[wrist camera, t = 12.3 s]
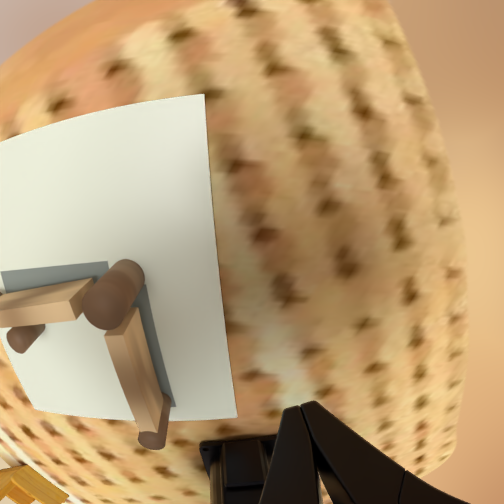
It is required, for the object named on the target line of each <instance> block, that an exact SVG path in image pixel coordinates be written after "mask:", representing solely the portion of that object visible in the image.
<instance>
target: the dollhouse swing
mask: <svg viewBox="0 0 504 504" xmlns="http://www.w3.org/2000/svg"><path fill="white" fill-rule="evenodd" d="M5 496H7V497H8V498H10V499H11V500H12V501H14V502H15V503H17V504H30V503H32V502H33V501H34V500H38V501H39V502H41V503H42V504H61V503H64V502H65V500H66V499H67V498H68V497H69V495H67V494H66V493H65V492H63V491H62V490H60V489H59V488H57V487H56V486H55V485H53V484H52V483H50V482H49V481H48V480H46V479H45V478H44V477H42V476H41V475H40V474H39V473H37V472H36V471H35V470H33V469H32V468H31V467H30V466H28V465H22V466H17V467H12V468H7V469H2V470H0V501H1V500H2V499H3V498H4V497H5Z"/></svg>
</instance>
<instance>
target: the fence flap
mask: <svg viewBox="0 0 504 504" xmlns="http://www.w3.org/2000/svg"><path fill="white" fill-rule="evenodd" d="M93 285H94V282H93V279H92V278H88V279H83V280H77V281H72V282H67V283H61V284H56V285H50V286H45V287H39V288H34V289H29V290H23V291H18V292H13V293H7V294H2V293H1V292H0V328H8V327H18V326H29V325H38V324H48V323H57V322H65V321H74V320H77V319H78V317H79V316H80V315H81V314H82V313H83V310H82V299H83V296H84V295H85V293H86V292H87V291H88V290H89V289H90V288H91V287H92V286H93Z"/></svg>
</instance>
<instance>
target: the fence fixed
mask: <svg viewBox="0 0 504 504" xmlns="http://www.w3.org/2000/svg"><path fill="white" fill-rule="evenodd" d="M144 282H145V275H144V272H143V270H142V268H141V267H140V265H139V264H137V263H136V262H134V261H132V260H129V259H122V260H119V261H117V262H116V263H115V264H114V265H113V266H112V267H111V268H110V269H109V270H108V271H107V272H106V273H105V274H104V275H103V276H102V277H101V278H100V279H99V280H98V281H97V282H96V283H95V284H94V285H93V286H92V287H91V288H90V289H89V290H88V291H87V292H86V293H85V295H84V296H83V299H82V310H83V313H84V315H85V317H86V319H87V320H88V321H89V322H90V323H91V324H92V325H93V326H95V327H96V328H99V329H101V330H107V331H106V333H105V335H104V338H105V341H106V344H107V348H108V351H109V354H110V357H111V360H112V362H113V365H114V368H115V371H116V374H117V376H118V379H119V382H120V384H121V387H122V390H123V392H124V395H125V397H126V400H127V402H128V405H129V407H130V409H131V412H132V414H133V416H134V419H135V421H136V423H137V425H138V428H139V430H140V432H139V437H138V441H139V443H140V444H141V445H142V446H144V447H145V448H148V449H151V450H160V449H162V448H164V447H165V442H166V435H167V428H168V422H169V415H170V408H171V402H172V401H171V398H170V397H169V396H168V395H167V394H165V393H163V392H161V390H160V387H159V384H158V381H157V377H156V374H155V370H154V367H153V364H152V360H151V356H150V353H149V349H148V345H147V342H146V338H145V334H144V330H143V326H142V321H141V317H140V313H139V309H138V307H131V306H132V304H133V302H134V300H135V299H136V297H137V295H138V294H139V292H140V290H141V289H142V287H143V285H144ZM45 327H46V326H45V324H38V325H29V326H18V327H12V328H11V329H10V330H9V331H8V332H7V334H6V338H7V341H8V344H9V345H10V347H11V348H12V349H13V350H14V351H15V352H17V353H20V354H23V353H25V352H26V351H27V349H28V348H29V347H30V346H31V345H32V344H33V343H34V341H35V340H36V339H37V338H38V337H39V336H40V335H41V334H42V333H43V331H44V330H45Z"/></svg>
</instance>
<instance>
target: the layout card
mask: <svg viewBox="0 0 504 504" xmlns="http://www.w3.org/2000/svg"><path fill="white" fill-rule="evenodd" d="M122 259H129V260H132V261H134V262H136V263H137V264H139V265H140V267H141V268H142V270H143V272H144V275H145V282H144V285H143V287H142V289H141V290H140V292H139V294H138V295H137V297H136V299H135V300H134V302H133V304H132V306H131V307H138V309H139V313H140V317H141V321H142V326H143V330H144V334H145V338H146V342H147V345H148V349H149V353H150V356H151V360H152V364H153V367H154V370H155V374H156V377H157V381H158V384H159V387H160V390H161V392H163V393H165V394H167V395H168V396H169V397H170V398H171V401H172V402H171V408H170V415H169V421H193V420H213V419H227V418H238V417H237V409H236V403H235V396H234V389H233V382H232V374H231V367H230V359H229V352H228V344H227V336H226V328H225V320H224V312H223V303H222V294H221V286H220V276H219V267H218V258H217V248H216V238H215V227H214V217H213V206H212V194H211V182H210V170H209V157H208V143H207V128H206V113H205V96H204V94H198V95H189V96H181V97H173V98H166V99H159V100H153V101H147V102H141V103H136V104H130V105H125V106H120V107H115V108H111V109H106V110H102V111H98V112H93V113H89V114H85V115H81V116H78V117H74V118H70V119H67V120H63V121H60V122H57V123H53V124H50V125H47V126H44V127H41V128H38V129H35V130H32V131H29V132H26V133H23V134H20V135H18V136H15V137H12V138H10V139H7V140H4V141H2V142H0V292H1V293H2V294H7V293H13V292H18V291H23V290H29V289H34V288H39V287H45V286H50V285H56V284H61V283H67V282H72V281H77V280H83V279H88V278H92V279H93V282H94V284H95V283H96V282H97V281H98V280H99V279H100V278H101V277H102V276H103V275H104V274H105V273H106V272H107V271H108V270H109V269H110V268H111V267H112V266H113V265H114V264H115V263H116V262H117V261H119V260H122ZM45 326H46V327H45V330H44V331H43V333H42V334H41V335H40V336H39V337H38V338H37V339H36V340H35V341H34V343H33V344H32V345H31V346H30V347H29V348H28V349H27V351H26V352H25V353H23V354H20V353H17V352H15V351H14V350H13V349H12V348H11V347H10V345H9V344H8V341H7V338H6V334H7V332H8V331H9V330H10V329H11V328H12V327H8V328H0V338H1V341H2V343H3V346H4V348H5V350H6V353H7V355H8V357H9V359H10V362H11V364H12V366H13V368H14V370H15V372H16V374H17V377H18V379H19V381H20V383H21V385H22V386H23V388H24V390H25V392H26V394H27V396H28V398H29V400H30V401H31V403H32V405H33V407H34V408H35V410H40V411H46V412H52V413H58V414H65V415H73V416H81V417H90V418H101V419H115V420H134V421H135V419H134V416H133V414H132V412H131V409H130V407H129V405H128V402H127V400H126V397H125V395H124V392H123V390H122V387H121V384H120V382H119V379H118V376H117V374H116V371H115V368H114V365H113V362H112V360H111V357H110V354H109V351H108V348H107V344H106V341H105V338H104V335H105V333H106V331H107V330H101V329H99V328H96V327H95V326H93V325H92V324H91V323H90V322H89V321H88V320H87V319H86V317H85V315H84V313H82V314H81V315H80V316H79V317H78V319H77V320H74V321H65V322H57V323H48V324H45Z"/></svg>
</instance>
